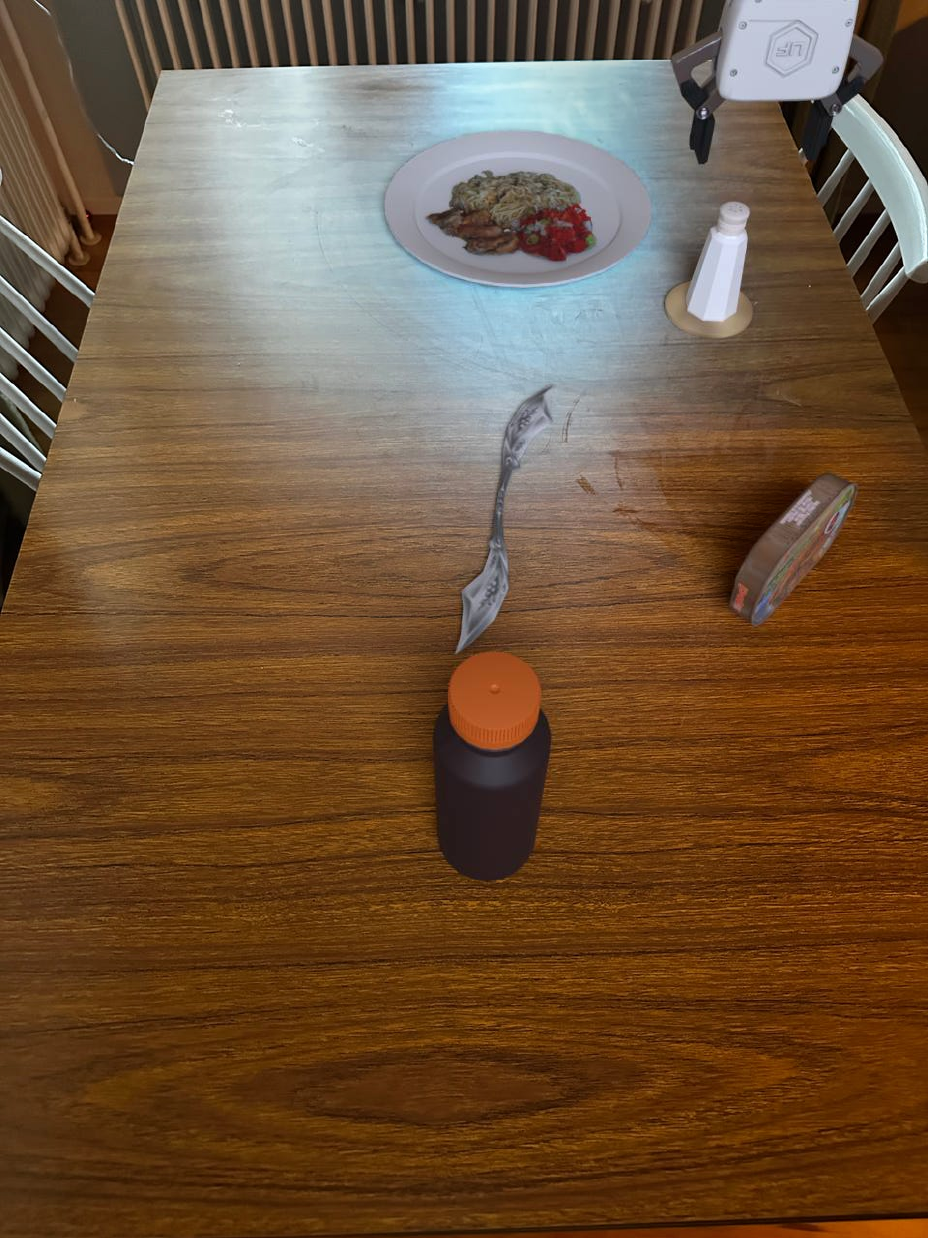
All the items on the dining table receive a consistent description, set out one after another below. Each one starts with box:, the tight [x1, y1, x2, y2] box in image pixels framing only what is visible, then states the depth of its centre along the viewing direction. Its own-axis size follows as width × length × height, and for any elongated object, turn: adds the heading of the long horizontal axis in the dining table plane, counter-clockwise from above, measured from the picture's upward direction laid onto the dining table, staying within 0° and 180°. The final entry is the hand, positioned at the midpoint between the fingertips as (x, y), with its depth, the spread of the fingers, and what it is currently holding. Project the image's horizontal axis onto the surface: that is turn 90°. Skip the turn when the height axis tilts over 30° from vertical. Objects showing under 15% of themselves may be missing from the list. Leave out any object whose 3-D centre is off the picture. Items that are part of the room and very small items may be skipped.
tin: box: [727, 472, 859, 627], centre depth 76 cm, size 15×3×8 cm, turn 137°
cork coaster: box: [664, 280, 754, 339], centre depth 99 cm, size 9×9×1 cm
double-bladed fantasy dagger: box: [454, 384, 556, 655], centre depth 83 cm, size 32×1×5 cm
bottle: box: [431, 650, 553, 882], centre depth 58 cm, size 7×7×20 cm
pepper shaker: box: [685, 201, 751, 322], centre depth 94 cm, size 5×5×11 cm
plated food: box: [383, 130, 653, 289], centre depth 107 cm, size 30×30×3 cm
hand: (753, 154), depth 85 cm, fingers open, 9 cm apart
